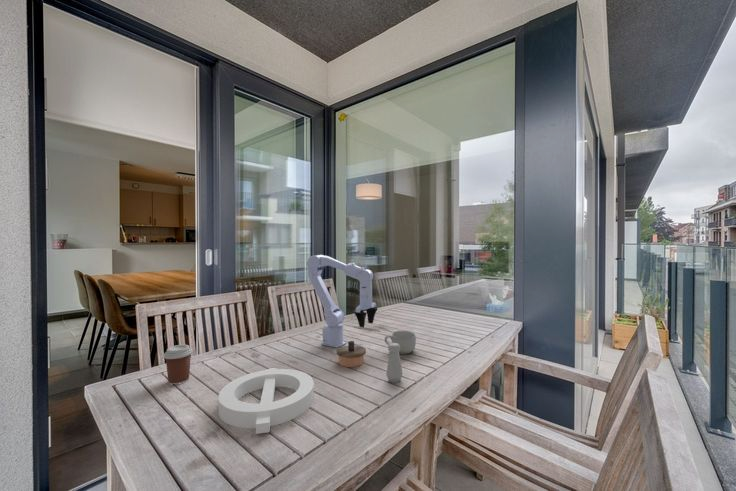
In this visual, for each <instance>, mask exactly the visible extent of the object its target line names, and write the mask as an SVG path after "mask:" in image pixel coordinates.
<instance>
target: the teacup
mask: <svg viewBox="0 0 736 491" xmlns="http://www.w3.org/2000/svg"><path fill="white" fill-rule="evenodd" d="M388 338H389V339H390V340H391V343H397V344H399V345H400V351H399V355H400V354H401V355H407V354H411V353H412V352H413V351H414V350H415V349H416V344H417V343H416V341H417V339H416V338H417V334H416V333H415V332H414V331H413V332H412V331H410V330H396V331H393V332H392V333H391V334H387V335H386V336H384V342H385V344H386V345H387V346H388V345H389V344H390V342H389V341H388Z"/></svg>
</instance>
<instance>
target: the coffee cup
mask: <svg viewBox="0 0 736 491" xmlns="http://www.w3.org/2000/svg"><path fill="white" fill-rule="evenodd" d="M193 353H194V351H193V348H191V347H190V345H188V344H176V345H173V346H170V347H168V348H167V349H166V351H165V352H164V353H163V356H162V357H163V359H165V364H166V371H167V381H168V383H169V385H170V384H178V385H180V384H179V383H182V384H184V383H183V382H185V383H187V382H189V380H190V372H191V371H190V369H191V356H192V354H193ZM186 381H187V382H186Z"/></svg>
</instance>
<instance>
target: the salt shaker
mask: <svg viewBox="0 0 736 491" xmlns="http://www.w3.org/2000/svg"><path fill="white" fill-rule="evenodd" d="M389 343H390V342H389ZM387 346H388V347H387V348H388V349H387V350H388V352H389V354H388V360H387V368H386V373H385V375H386V378H387V379H388V382H389V383H393V384H398V383H400V382H401V380H402V377H403V373H404V372H403V367H402V363H401V357H400V353H399V351H400V345H399V344H397V343H392V342H391V343H390V344H389V345H387Z"/></svg>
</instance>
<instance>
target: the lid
mask: <svg viewBox="0 0 736 491" xmlns="http://www.w3.org/2000/svg"><path fill="white" fill-rule="evenodd" d="M347 343H348V345H342V346H340V347H338V348H336V355H337V356H338V357H339V356H341V357H346V358H355V357H360V356H363V357H364V356H365V355H366V353H367V349H366V347H364V346H361V345H356V344H355V341H354V340H349V341H347Z"/></svg>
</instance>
